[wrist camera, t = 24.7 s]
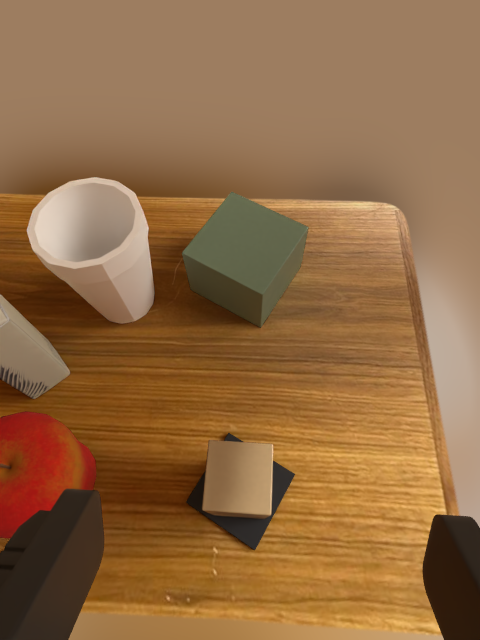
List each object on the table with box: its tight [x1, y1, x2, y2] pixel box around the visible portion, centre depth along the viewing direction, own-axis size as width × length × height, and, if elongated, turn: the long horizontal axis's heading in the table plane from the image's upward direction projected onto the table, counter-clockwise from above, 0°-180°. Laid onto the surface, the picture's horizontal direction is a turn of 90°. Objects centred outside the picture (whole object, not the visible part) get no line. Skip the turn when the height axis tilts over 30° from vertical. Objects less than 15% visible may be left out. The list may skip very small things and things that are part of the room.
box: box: [0, 294, 70, 399], centre depth 37 cm, size 5×4×13 cm
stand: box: [182, 192, 309, 328], centre depth 44 cm, size 9×9×7 cm
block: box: [202, 440, 273, 519], centre depth 33 cm, size 4×4×10 cm
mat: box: [186, 433, 295, 550], centre depth 37 cm, size 7×7×1 cm
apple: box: [0, 411, 96, 538], centre depth 33 cm, size 9×8×12 cm
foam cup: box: [27, 177, 155, 324], centre depth 41 cm, size 10×9×13 cm
